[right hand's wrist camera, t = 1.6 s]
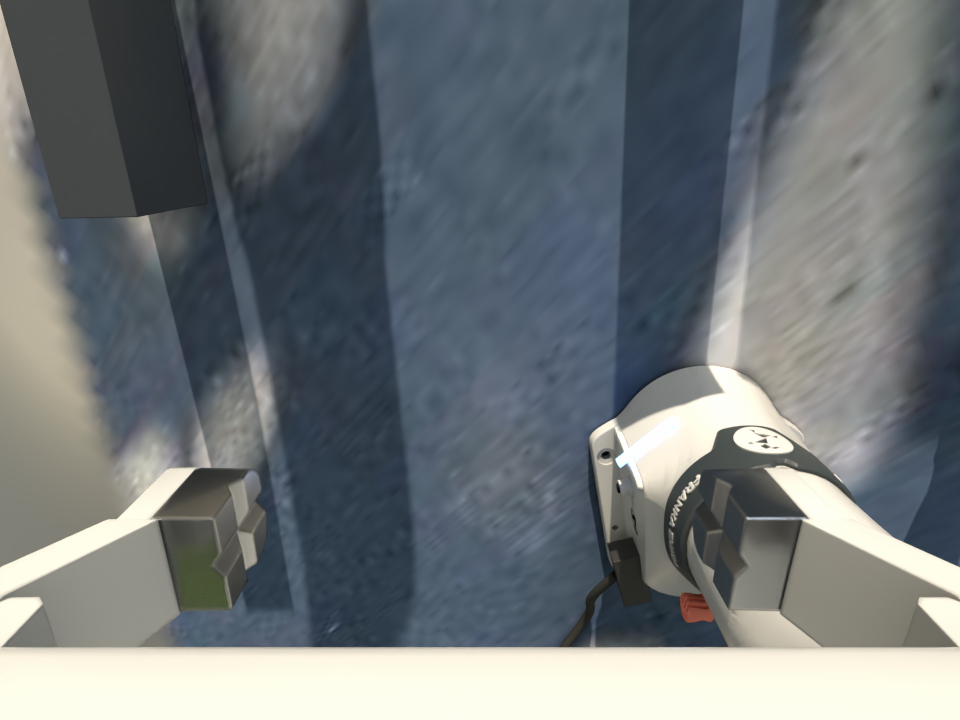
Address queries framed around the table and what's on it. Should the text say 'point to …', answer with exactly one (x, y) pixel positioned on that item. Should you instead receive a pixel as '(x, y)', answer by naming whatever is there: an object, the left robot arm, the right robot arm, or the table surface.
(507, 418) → the table surface
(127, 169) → the bar
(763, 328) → the table surface
